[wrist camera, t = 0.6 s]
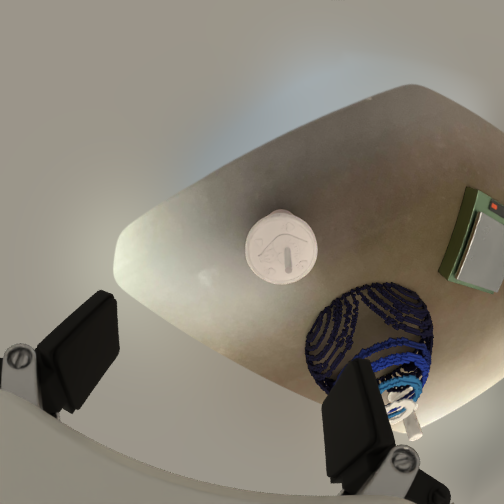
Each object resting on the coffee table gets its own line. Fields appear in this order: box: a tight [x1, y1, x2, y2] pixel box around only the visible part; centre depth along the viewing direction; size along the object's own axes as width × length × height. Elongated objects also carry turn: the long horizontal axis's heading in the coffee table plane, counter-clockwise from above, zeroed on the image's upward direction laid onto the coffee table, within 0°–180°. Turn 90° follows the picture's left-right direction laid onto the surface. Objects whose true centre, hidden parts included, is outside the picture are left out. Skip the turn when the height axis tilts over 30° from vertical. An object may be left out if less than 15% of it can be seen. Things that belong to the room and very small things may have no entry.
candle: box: [388, 387, 423, 441], centre depth 35 cm, size 5×5×12 cm
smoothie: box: [245, 209, 318, 284], centre depth 26 cm, size 6×6×14 cm
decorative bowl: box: [305, 282, 434, 424], centre depth 30 cm, size 20×20×14 cm
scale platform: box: [454, 211, 504, 292], centre depth 26 cm, size 10×11×1 cm
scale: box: [438, 187, 504, 294], centre depth 28 cm, size 13×12×3 cm
